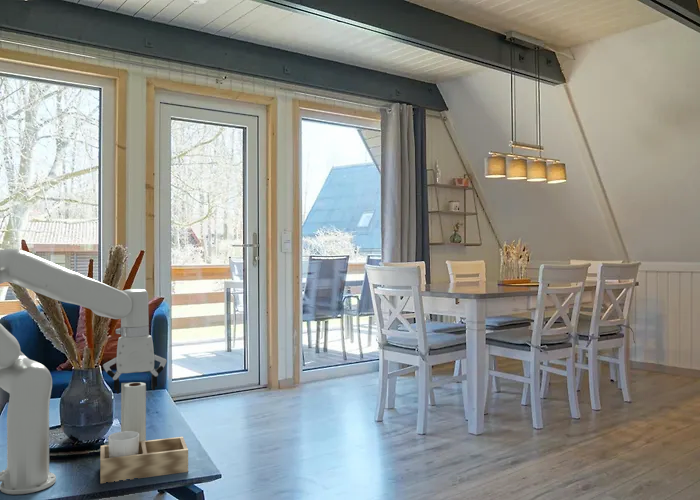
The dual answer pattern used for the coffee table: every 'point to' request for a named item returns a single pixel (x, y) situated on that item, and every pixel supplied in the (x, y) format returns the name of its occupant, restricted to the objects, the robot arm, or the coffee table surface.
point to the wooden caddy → (146, 460)
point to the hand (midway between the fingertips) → (135, 390)
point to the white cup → (123, 444)
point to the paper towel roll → (134, 408)
